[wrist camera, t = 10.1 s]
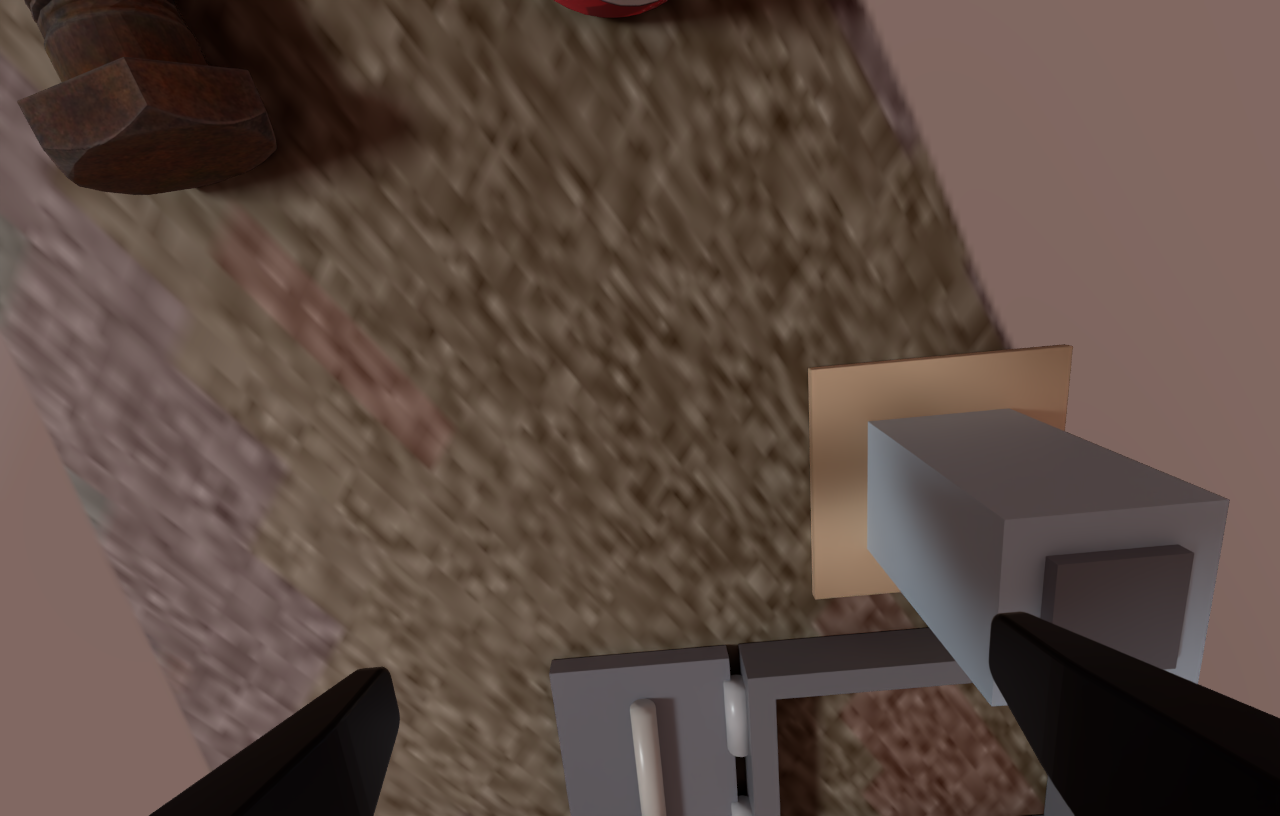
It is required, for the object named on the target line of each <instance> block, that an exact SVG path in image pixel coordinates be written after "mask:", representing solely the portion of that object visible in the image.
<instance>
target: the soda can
mask: <svg viewBox="0 0 1280 816" xmlns="http://www.w3.org/2000/svg"><path fill="white" fill-rule="evenodd" d="M554 1H556V2H558V3H560V4H561V5H563V6H565V7H567V8H569V9H571V10H574V11H577V12H580V13H583V14H585V15H591V16H597V17H603V18H617V17H626V16H632V15H637V14H640V13H643V12H646V11H648V10H651V9H654V8H656V7H658V6H660V5H661V4H663V3H665V2H666V1H668V0H554Z"/></svg>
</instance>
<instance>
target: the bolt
mask: <svg viewBox="0 0 1280 816" xmlns="http://www.w3.org/2000/svg"><path fill="white" fill-rule="evenodd" d="M25 3H26V5H27V6H28V8H29V9H30V11H31V13H32V17H33V19H34V21H35V22H36V23H37V25H38V27H39V29H40V31H41V33H42V35H43V37H44V39H45V41H44V46H45V50H46V52H47V54H48V56H49V58H50V60H51V62H52V64H53V66H54V68H55V70H56V72H57V74H58V76H59V78H60V80H61V82H62V83H60V84H57V85H55V86H53V87H50V88H48V89H45V90H43V91H41V92H38V93H36V94H33V95H31V96H29V97H26V98H24V99H21V100H19V101H18V102H17V103H18V104H19V106H20V108H21V110H22V112H23V114H24V115H25V117H26V119H27V121H28V123H29V125H30V127H31V128H32V130H33V132H34V134H35V136H36V138H37V139H38V141H39V143H40V145H41V147H42V148H43V150H44V151H45V152H46V153H47V155H48V156H49V157H50V158H51V160H52V161H53V162H54V163H55V165H56V166H57V167H58V168H59V169H60V170H61V171H62V172H63V173H64V174H65V175H66V177H67V178H69V179H70V180H71V181H73V182H74V183H75V184H77V185H78V186H80V187H85V188H90V189H95V190H99V191H104V192H113V193H122V194H132V195H151V194H158V193H165V192H171V191H177V190H184V189H190V188H196V187H201V186H205V185H209V184H214V183H218V182H220V181H223V180H225V179H228V178H230V177H233V176H236V175H239V174H242V173H245V172H247V171H249V170H251V169H253V168H255V167H256V166H258V165H259V164H261V163H262V162H264V161H265V160H266V159H267V158H268V157H269V156H270V155H271V154H272V153H273V152H274V151H275V150H276V149H277V146H276V138H275V135H274V132H273V128H272V125H271V123H270V120H269V117H268V114H267V111H266V109H265V107H264V105H263V102H262V100H261V98H260V95H259V93H258V91H257V89H256V86H255V84H254V82H253V80H252V77H251V75H250V73H249V71H248V70H246V69H236V68H227V67H217V66H208V65H207V63H206V61H205V59H204V56H203V54H202V52H201V50H200V48H199V46H198V44H197V41H196V39H195V37H194V36H193V34H192V33H191V32H190V31H189V30H188V29H187V27H186V25H185V23H184V22H183V21H182V18H181V16H180V14H179V12H178V10H177V9H176V7H175V2H174V0H25Z"/></svg>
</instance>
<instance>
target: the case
mask: <svg viewBox="0 0 1280 816" xmlns="http://www.w3.org/2000/svg"><path fill="white" fill-rule="evenodd" d="M738 646H739V664H740V675H730V666H729V656H728V652H727V648H726V645H723V646H712V647H700V648H688V649H677V650H665V651H653V652H642V653H630V654H618V655H607V656H595V657H583V658H572V659H560V660H552V663H551V668H550V673H549V675H550V682H551V688H552V695H553V701H554V708H555V714H556V721H557V728H558V734H559V741H560V747H561V754H562V760H563V767H564V774H565V780H566V787H567V793H568V800H569V807H570V813H571V816H780V795H779V769H778V743H777V718H776V699H787V698H799V697H811V696H823V695H834V694H846V693H858V692H870V691H882V690H893V689H905V688H917V687H929V686H941V685H952V684H964V683H973V682H972V681H971V680H970V678H969V677H968V676H967V675H966V673H965V672H964V671H963V669H962V668H961V667H960V666H959V664H958V663H957V662H956V661H955V659H954V658H953V657H952V656H951V654H950V653H949V652H948V650H947V649H946V648H945V647H944V645H943V644H942V643H941V642H940V640H939V639H938V638H937V637H936V635H935V634H934V633H933V631H932V630H931V629H930V628H921V629H909V630H898V631H886V632H875V633H863V634H851V635H840V636H828V637H816V638H805V639H793V640H781V641H770V642H758V643H746V644H738ZM735 756H737V757H745V771H746V789H747V796H744V795H741V796H737V780H736V764H735ZM1034 816H1074V814H1073V813H1072V811H1071V810H1070V808H1069V807H1068V805H1067V804H1066V803H1065V801H1064V800H1063V798H1062V797H1061V795H1060V794H1059V792H1058V791H1057V789H1056V788H1055V786H1054V785H1053V783H1052V782H1051V780H1050V778H1049V777H1048V781H1047V791H1046V801H1045V810H1044V815H1034Z"/></svg>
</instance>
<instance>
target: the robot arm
mask: <svg viewBox="0 0 1280 816" xmlns="http://www.w3.org/2000/svg"><path fill="white" fill-rule="evenodd" d="M989 668H990V672H991V675H992V678H993V680H994V682H995V683H996V685H997V687H998V689H999V690H1000V692H1001V694H1002V696H1003V698H1004V699H1005V701H1006V703H1007V705H1008V706H1009V708H1010V710H1011V712H1012V714H1013V715H1014V717H1015V719H1016V721H1017V722H1018V724H1019V726H1020V728H1021V729H1022V731H1023V733H1024V735H1025V737H1026V738H1027V740H1028V742H1029V744H1030V745H1031V747H1032V749H1033V751H1034V753H1035V754H1036V756H1037V758H1038V760H1039V761H1040V763H1041V765H1042V767H1043V768H1044V770H1045V772H1046V773H1047V775H1048V777H1049V778H1050V780H1051V782H1052V783H1053V785H1054V786H1055V788H1056V789H1057V791H1058V792H1059V794H1060V795H1061V797H1062V798H1063V800H1064V801H1065V803H1066V804H1067V805H1068V807H1069V808H1070V810H1071V811H1072V813H1073V814H1074V816H1280V718H1278V717H1275V716H1273V715H1271V714H1268V713H1266V712H1263V711H1261V710H1258V709H1256V708H1254V707H1251V706H1249V705H1247V704H1244V703H1242V702H1239V701H1237V700H1235V699H1232V698H1230V697H1227V696H1225V695H1223V694H1220V693H1218V692H1215V691H1213V690H1211V689H1208V688H1206V687H1203V686H1201V685H1199V684H1196V683H1194V682H1192V681H1189V680H1187V679H1184V678H1182V677H1180V676H1177V675H1175V674H1173V673H1170V672H1168V671H1165V670H1163V669H1161V668H1158V667H1156V666H1153V665H1151V664H1149V663H1146V662H1144V661H1141V660H1139V659H1137V658H1134V657H1132V656H1129V655H1127V654H1125V653H1122V652H1120V651H1118V650H1115V649H1113V648H1110V647H1108V646H1106V645H1103V644H1101V643H1098V642H1096V641H1094V640H1091V639H1089V638H1086V637H1084V636H1082V635H1079V634H1077V633H1075V632H1072V631H1070V630H1067V629H1065V628H1063V627H1060V626H1058V625H1055V624H1053V623H1051V622H1048V621H1046V620H1043V619H1041V618H1039V617H1036V616H1034V615H1031V614H1029V613H1026V612H1021V611H1019V612H1008V613H998V614H996V615H995V616H994V617H993V619H992V621H991V630H990V645H989ZM399 721H400V715H399V709H398V704H397V700H396V696H395V691H394V687H393V683H392V679H391V675H390V672H389V671H388V669H386V668H384V667H374V668H363V669H358V670H356V671H355V672H353V673H352V674H350V675H349V676H347V677H346V678H345V679H343V680H342V681H340V682H339V683H337V684H336V685H335V686H333V687H332V688H330V689H329V690H327V691H326V692H325V693H323V694H322V695H320V696H319V697H317V698H316V699H315V700H313V701H312V702H310V703H309V704H307V705H306V706H305V707H303V708H302V709H300V710H299V711H297V712H296V713H295V714H293V715H292V716H290V717H289V718H287V719H286V720H285V721H283V722H282V723H280V724H279V725H277V726H276V727H275V728H273V729H272V730H270V731H269V732H267V733H266V734H265V735H263V736H262V737H260V738H259V739H257V740H256V741H255V742H253V743H252V744H250V745H249V746H247V747H246V748H245V749H243V750H242V751H240V752H239V753H237V754H236V755H235V756H233V757H232V758H230V759H229V760H227V761H226V762H225V763H223V764H222V765H220V766H219V767H217V768H216V769H215V770H213V771H212V772H210V773H209V774H207V775H206V776H205V777H203V778H202V779H200V780H199V781H197V782H196V783H195V784H193V785H192V786H190V787H189V788H187V789H186V790H185V791H183V792H182V793H180V794H179V795H177V796H176V797H175V798H173V799H172V800H170V801H169V802H167V803H166V804H165V805H163V806H162V807H160V808H159V809H158V810H156V811H155V812H153V813H152V814H150V815H149V816H374V812H375V809H376V805H377V802H378V799H379V795H380V792H381V788H382V785H383V781H384V778H385V774H386V771H387V767H388V764H389V760H390V757H391V754H392V750H393V747H394V743H395V740H396V736H397V733H398V729H399Z"/></svg>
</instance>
